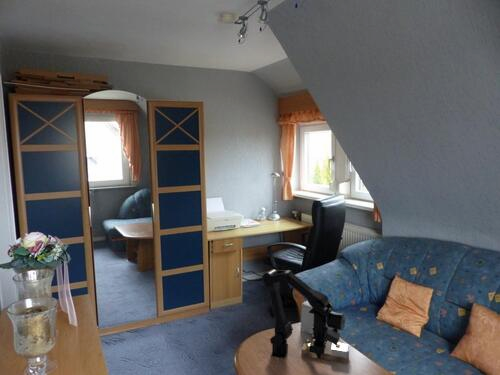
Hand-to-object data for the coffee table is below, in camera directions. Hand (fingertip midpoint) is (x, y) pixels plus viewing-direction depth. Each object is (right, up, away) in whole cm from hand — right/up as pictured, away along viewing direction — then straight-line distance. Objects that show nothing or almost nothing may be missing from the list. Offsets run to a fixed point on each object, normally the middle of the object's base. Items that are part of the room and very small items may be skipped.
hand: (319, 357), depth 162 cm
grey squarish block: (+11, -1, +6) cm, 12 cm away
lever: (-3, 0, +7) cm, 7 cm away
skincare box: (+1, -1, +32) cm, 32 cm away
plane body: (+4, -3, +8) cm, 10 cm away
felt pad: (+7, -2, +16) cm, 18 cm away
